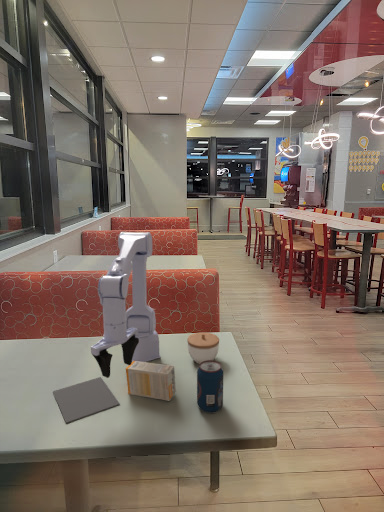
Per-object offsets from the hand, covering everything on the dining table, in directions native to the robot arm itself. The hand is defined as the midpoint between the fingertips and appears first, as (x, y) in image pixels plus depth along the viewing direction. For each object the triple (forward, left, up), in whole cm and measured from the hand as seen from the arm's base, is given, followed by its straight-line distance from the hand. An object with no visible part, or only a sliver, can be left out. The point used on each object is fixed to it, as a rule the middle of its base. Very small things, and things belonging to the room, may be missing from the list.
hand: (117, 369), depth 90 cm
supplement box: (-6, -5, -6) cm, 10 cm away
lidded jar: (-33, -8, -11) cm, 36 cm away
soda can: (-20, +14, -11) cm, 27 cm away
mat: (+7, -8, -10) cm, 15 cm away
